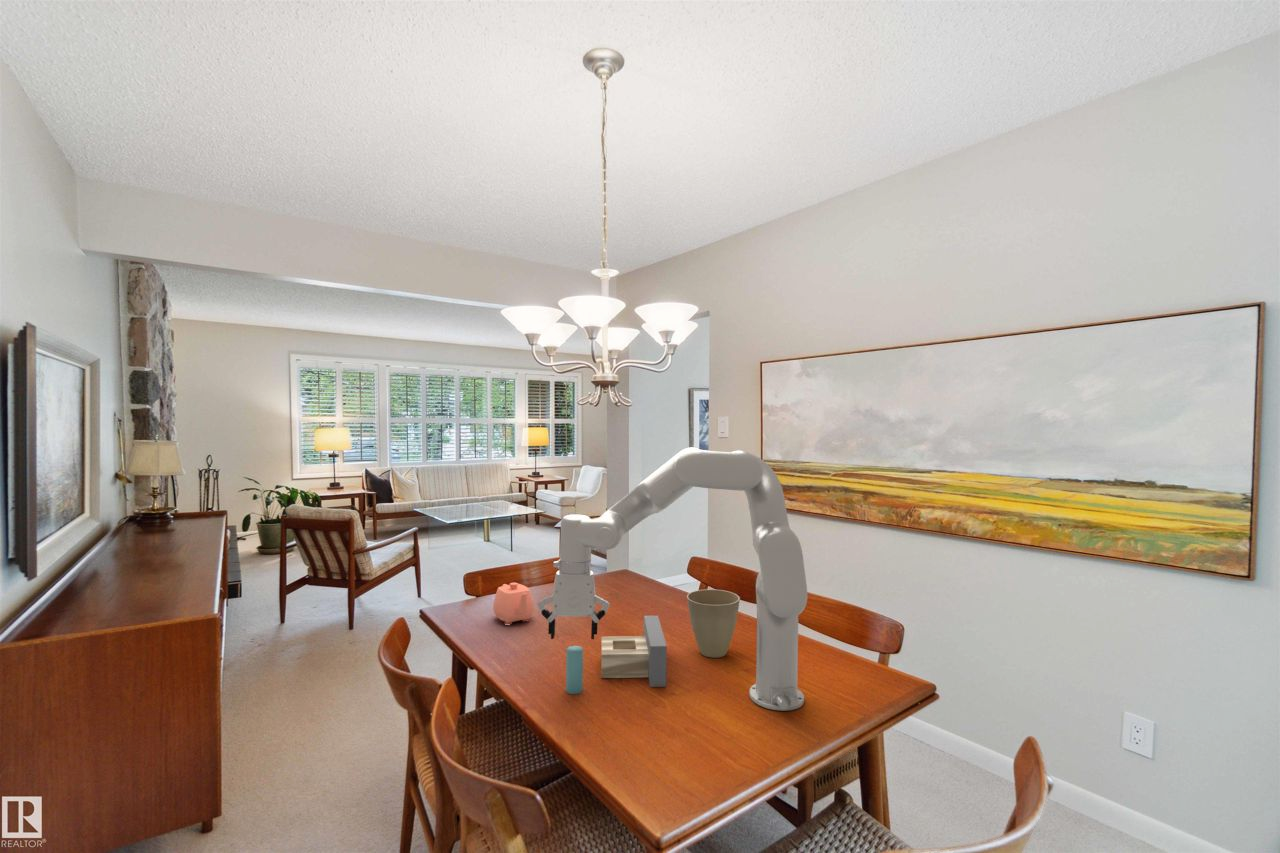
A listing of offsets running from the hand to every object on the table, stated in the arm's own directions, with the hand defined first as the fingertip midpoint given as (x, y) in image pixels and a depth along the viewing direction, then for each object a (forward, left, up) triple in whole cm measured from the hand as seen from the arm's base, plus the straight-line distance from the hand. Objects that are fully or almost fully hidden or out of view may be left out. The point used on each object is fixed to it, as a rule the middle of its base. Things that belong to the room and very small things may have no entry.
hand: (572, 637), depth 136 cm
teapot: (+49, +21, -13) cm, 55 cm away
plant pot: (+21, -39, -13) cm, 46 cm away
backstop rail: (+12, -21, -13) cm, 27 cm away
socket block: (+12, -13, -13) cm, 22 cm away
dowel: (0, -1, -13) cm, 13 cm away
